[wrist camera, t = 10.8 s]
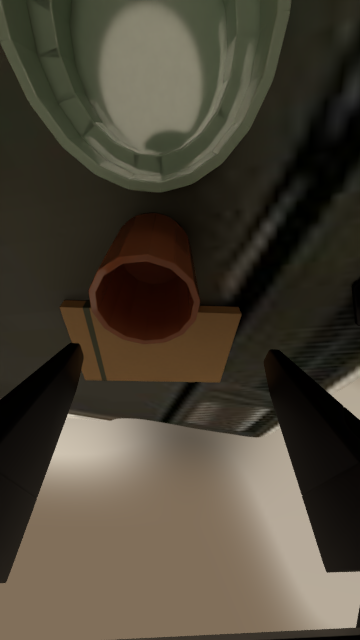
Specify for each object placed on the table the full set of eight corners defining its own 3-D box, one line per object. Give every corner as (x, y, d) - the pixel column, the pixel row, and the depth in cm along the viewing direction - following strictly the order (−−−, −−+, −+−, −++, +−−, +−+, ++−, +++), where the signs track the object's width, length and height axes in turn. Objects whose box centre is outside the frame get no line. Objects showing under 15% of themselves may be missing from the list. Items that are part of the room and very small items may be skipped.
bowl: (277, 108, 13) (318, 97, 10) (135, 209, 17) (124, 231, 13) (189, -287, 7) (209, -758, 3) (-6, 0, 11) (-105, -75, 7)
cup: (203, 262, 20) (217, 319, 14) (145, 294, 22) (135, 356, 16) (164, 194, 16) (160, 229, 10) (99, 240, 18) (63, 292, 12)
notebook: (218, 375, 31) (219, 382, 30) (88, 372, 30) (85, 380, 29) (238, 306, 23) (241, 313, 22) (64, 299, 22) (59, 306, 21)
